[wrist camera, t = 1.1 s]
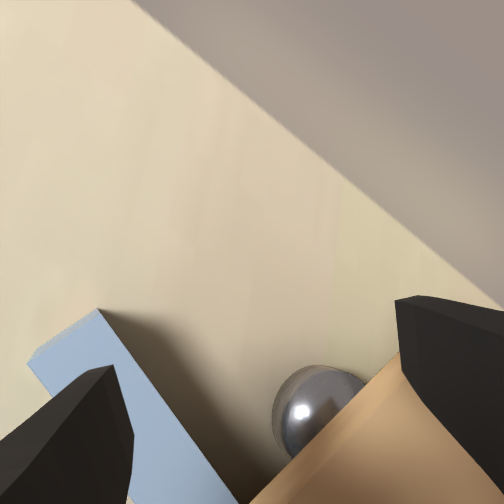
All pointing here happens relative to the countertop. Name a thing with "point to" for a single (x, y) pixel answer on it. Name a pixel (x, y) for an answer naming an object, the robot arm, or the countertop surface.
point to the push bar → (134, 416)
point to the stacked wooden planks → (383, 455)
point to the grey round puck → (310, 404)
